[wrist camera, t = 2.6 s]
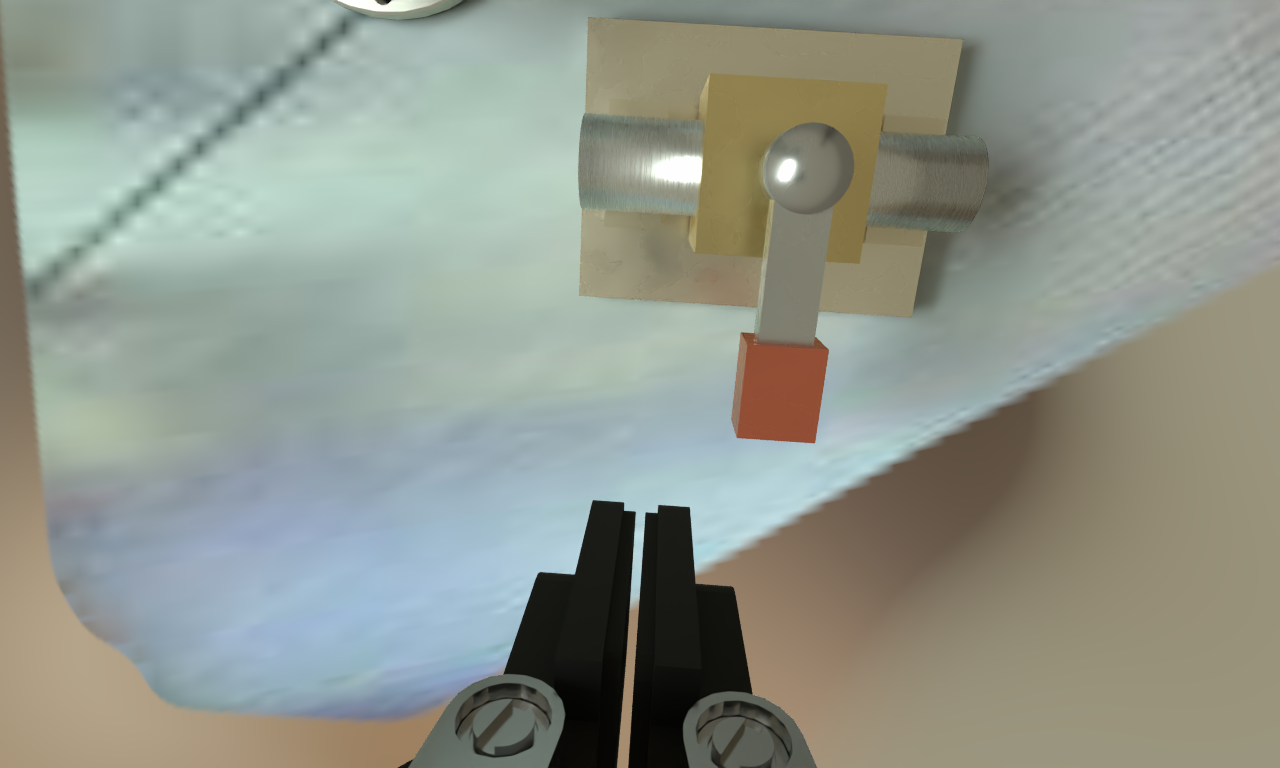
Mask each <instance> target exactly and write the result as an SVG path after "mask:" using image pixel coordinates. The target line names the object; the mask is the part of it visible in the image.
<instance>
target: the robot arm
mask: <svg viewBox="0 0 1280 768" xmlns="http://www.w3.org/2000/svg"><path fill="white" fill-rule="evenodd" d="M331 1H333V2H335V3H336V4H338V5H340V6H342V7H344V8H346V9H349V10H352V11H355V12H358V13H361V14H364V15H367V16H370V17H376V18H385V19H394V20H403V19H413V18H422V17H427V16H430V15H433V14H436V13H439V12H442V11H445V10H448V9H450V8H452V7H453V6H455V5H457V4H458V3H460V2H462V1H463V0H391V2H390V3H389V4H387V3H386V0H331ZM635 515H636V512H633V511H624V502H610V501H596V500H593V502H592V506H591V510H590V514H589V518H588V522H587V527H586V531H585V535H584V539H583V543H582V547H581V552H580V556H579V560H578V564H577V568H576V572H575V575H571V574H558V573H545V572H540V573H538V575H537V577H536V580H535V583H534V586H533V589H532V592H531V595H530V597H529V600H528V603H527V606H526V609H525V612H524V615H523V618H522V621H521V624H520V627H519V630H518V633H517V636H516V639H515V642H514V645H513V648H512V651H511V653H510V656H509V659H508V662H507V665H506V668H505V671H504V674H503V675H498V676H492V677H488V678H486V679H483V680H480V681H478V682H475V683H473V684H471V685H470V686H468V687H467V688H465V689H464V690H462V691H461V692H459V693H458V694H457V695H456V697H455V698H454V699H453V700H452V701H451V702H450V704H449V705H448V706H447V707H446V709H445V710H444V712H443V714H442V715H441V717H440V718H439V720H438V722H437V723H436V725H435V727H434V728H433V729H432V731H431V733H430V734H429V736H428V737H427V739H426V740H425V742H424V744H423V745H422V747H421V748H420V750H419V752H418V753H417V755H416V756H415V758H414V759H413V760H411V761H409V762H407V763H406V764H404V765H402V766H400V767H398V768H617V759H618V747H619V735H620V723H621V712H622V701H623V689H624V678H625V667H626V654H627V638H628V624H629V609H630V593H631V578H632V562H633V547H634V531H635ZM628 768H817V766H816V764H815V762H814V759H813V757H812V755H811V753H810V750H809V748H808V746H807V743H806V741H805V739H804V736H803V734H802V733H801V731H800V729H799V728H798V726H797V724H796V723H795V721H794V720H793V719H792V718H791V717H790V716H789V715H788V714H787V713H786V712H785V711H784V710H782V709H781V708H780V707H779V706H777V705H775V704H773V703H771V702H770V701H768V700H766V699H765V698H762V697H758V696H755V695H753V694H752V688H751V683H750V677H749V671H748V666H747V659H746V654H745V648H744V643H743V637H742V630H741V625H740V619H739V613H738V607H737V601H736V596H735V591H734V588H733V587H731V586H718V585H703V584H695V570H694V557H693V544H692V530H691V517H690V507H679V506H665V505H658V513H647V512H646V515H645V530H644V544H643V558H642V573H641V587H640V601H639V616H638V630H637V645H636V659H635V675H634V690H633V704H632V720H631V735H630V750H629V765H628Z"/></svg>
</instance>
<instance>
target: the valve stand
mask: <svg viewBox="0 0 1280 768" xmlns="http://www.w3.org/2000/svg"><path fill="white" fill-rule="evenodd" d="M962 44H963V39H948V38H931V37H914V36H897V35H880V34H863V33H846V32H829V31H812V30H795V29H778V28H761V27H744V26H727V25H710V24H693V23H676V22H660V21H643V20H626V19H609V18H592V17H588V43H587V74H586V105H585V114H584V116H583V119H582V125H581V132H580V143H579V166H578V180H579V198H580V205H581V208H582V227H581V258H580V289H579V296H594V297H609V298H624V299H640V300H655V301H670V302H686V303H701V304H716V305H732V306H747V307H757V304H758V295H759V287H760V278H761V269H762V260H763V252H764V243H765V234H766V225H767V217H768V208H769V199H768V198H767V197H766V195H765V194H764V192H763V190H762V187H761V184H760V178H759V167H760V162H761V159H762V156H763V153H764V151H765V150H766V148H767V146H768V145H769V144H770V142H771V141H772V140H773V139H774V138H775V137H777V136H778V135H779V134H781V133H782V132H784V131H786V130H788V129H791V128H793V127H795V126H797V125H800V124H804V123H810V122H817V123H823V124H827V125H829V126H831V127H833V128H835V129H836V130H838V131H839V132H840V133H841V134H842V135H843V136H844V137H845V138H846V140H847V141H848V143H849V145H850V147H851V149H852V152H853V157H854V173H853V178H852V181H851V184H850V186H849V188H848V190H847V191H846V193H845V194H844V196H843V197H842V198H841V199H840V200H839V201H838V202H837V203H836V204H835V205H834V206H833V213H832V220H831V227H830V234H829V241H828V248H827V255H826V262H825V269H824V276H823V283H822V290H821V297H820V304H819V311H823V312H839V313H854V314H869V315H885V316H900V317H912V313H913V307H914V302H915V297H916V291H917V286H918V280H919V275H920V270H921V264H922V259H923V253H924V248H925V243H926V237H927V232H928V231H938V232H954V233H958V232H961V231H963V230H964V229H965V228H967V227H968V225H969V224H970V223H971V222H972V220H973V219H974V217H975V215H976V213H977V212H978V209H979V207H980V205H981V202H982V199H983V196H984V193H985V189H986V184H987V178H988V166H989V165H988V153H987V149H986V146H985V144H984V142H983V141H982V139H980V138H979V137H970V136H954V135H946V130H947V124H948V119H949V114H950V108H951V103H952V97H953V92H954V87H955V81H956V76H957V70H958V65H959V60H960V54H961V49H962Z"/></svg>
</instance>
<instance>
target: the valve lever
mask: <svg viewBox="0 0 1280 768" xmlns="http://www.w3.org/2000/svg"><path fill="white" fill-rule="evenodd" d="M853 173H854V157H853V152H852V149H851V147H850V145H849V143H848V141H847V140H846V138H845V137H844V136H843V135H842V134H841V133H840V132H839V131H838V130H836V129H835V128H833V127H831V126H829V125H827V124H823V123H817V122H810V123H804V124H800V125H797V126H795V127H793V128H791V129H788V130H786V131H784V132H782V133H781V134H779V135H778V136H777V137H775V138H774V139H773V140H772V141H771V142H770V144H769V145H768V146H767V148H766V150H765V151H764V153H763V156H762V159H761V162H760V167H759V178H760V184H761V187H762V190H763V192H764V194H765V195H766V197H767V198H768V199H769V208H768V217H767V225H766V234H765V243H764V252H763V260H762V269H761V278H760V287H759V295H758V304H757V313H756V322H755V330H754V333H741V335H740V344H739V353H738V363H737V372H736V381H735V390H734V400H733V409H732V418H731V420H732V423H733V427H734V430H735V433H736V437H737V438H746V439H760V440H775V441H789V442H804V443H815V440H816V433H817V426H818V420H819V413H820V406H821V400H822V393H823V386H824V380H825V373H826V366H827V360H828V353H829V350H828V349H827V348H826V347H825V346H824V345H823V344H822V343H821V342H820V341H819V340H818V339H817V338H816V337H815V333H816V326H817V318H818V311H819V304H820V297H821V290H822V283H823V276H824V269H825V262H826V255H827V248H828V241H829V234H830V227H831V220H832V213H833V206H834V205H835V204H836V203H837V202H838V201H839V200H840V199H841V198H842V197H843V196H844V194H845V193H846V191H847V190H848V188H849V186H850V184H851V181H852V178H853Z"/></svg>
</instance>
